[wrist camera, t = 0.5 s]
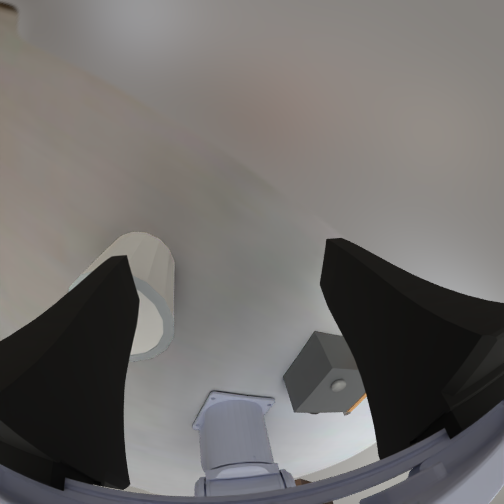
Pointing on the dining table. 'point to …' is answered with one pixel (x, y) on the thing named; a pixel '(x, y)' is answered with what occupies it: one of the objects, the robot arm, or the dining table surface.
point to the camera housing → (324, 376)
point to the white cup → (146, 290)
